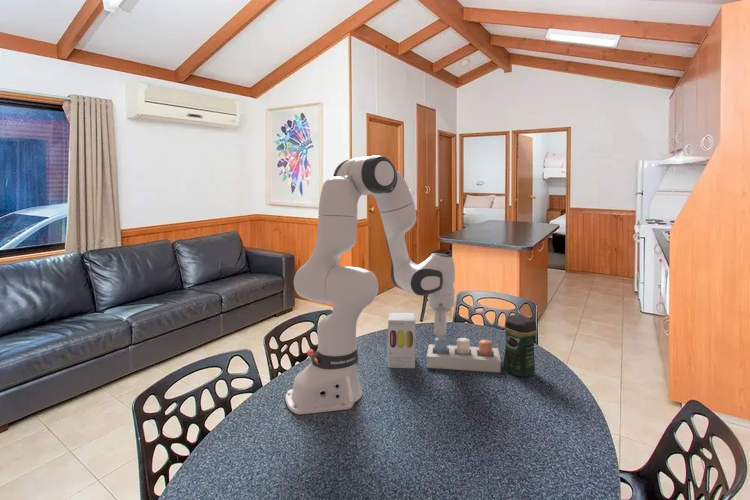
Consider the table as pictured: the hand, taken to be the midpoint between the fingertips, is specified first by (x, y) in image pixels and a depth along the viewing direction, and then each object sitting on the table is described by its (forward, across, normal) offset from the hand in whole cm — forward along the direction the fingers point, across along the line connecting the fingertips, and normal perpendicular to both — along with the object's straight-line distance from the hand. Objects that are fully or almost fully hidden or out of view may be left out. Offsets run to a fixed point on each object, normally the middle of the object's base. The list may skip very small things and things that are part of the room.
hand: (440, 338), depth 151 cm
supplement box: (+8, -3, +13) cm, 16 cm away
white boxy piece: (+8, 0, -8) cm, 11 cm away
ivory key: (+4, 0, -8) cm, 8 cm away
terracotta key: (+4, 0, -15) cm, 16 cm away
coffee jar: (+8, -4, -26) cm, 27 cm away
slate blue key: (+4, 0, 0) cm, 4 cm away
